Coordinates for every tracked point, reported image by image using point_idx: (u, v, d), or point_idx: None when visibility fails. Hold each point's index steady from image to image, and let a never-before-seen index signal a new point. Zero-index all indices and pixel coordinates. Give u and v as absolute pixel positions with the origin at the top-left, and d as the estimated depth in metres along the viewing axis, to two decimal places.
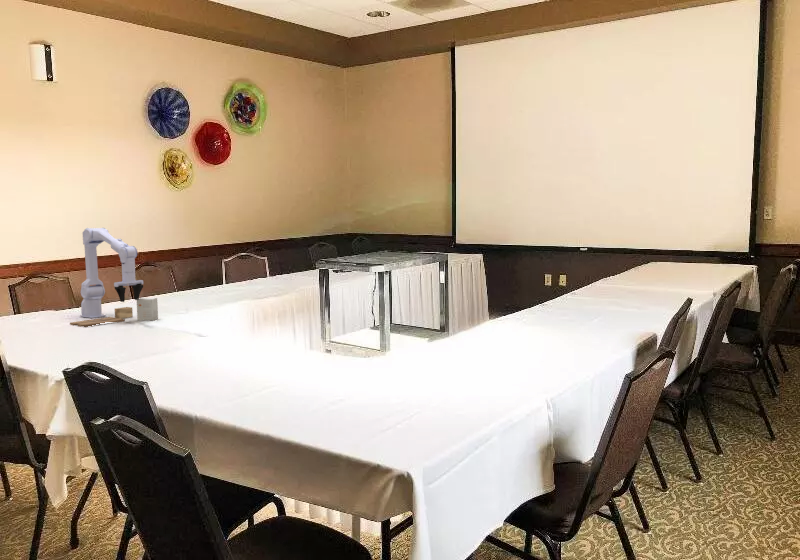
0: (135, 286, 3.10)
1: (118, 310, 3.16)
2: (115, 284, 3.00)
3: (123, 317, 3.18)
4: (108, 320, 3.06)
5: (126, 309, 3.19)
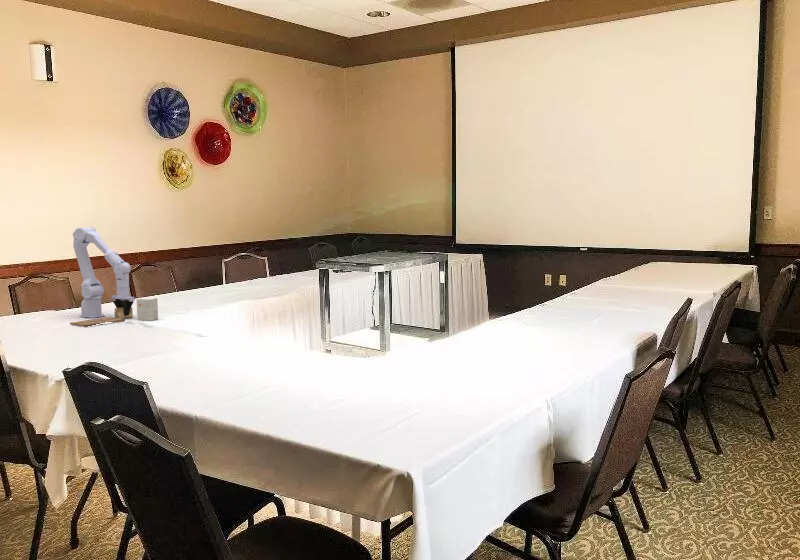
0: None
1: (118, 310, 3.16)
2: None
3: (123, 317, 3.18)
4: (108, 320, 3.06)
5: None
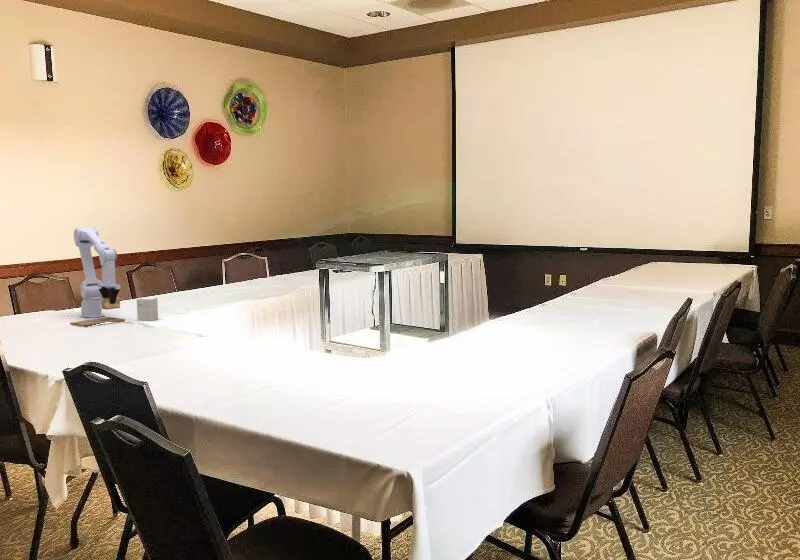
0: None
1: (105, 300, 3.07)
2: None
3: (110, 307, 3.08)
4: (108, 320, 3.06)
5: None
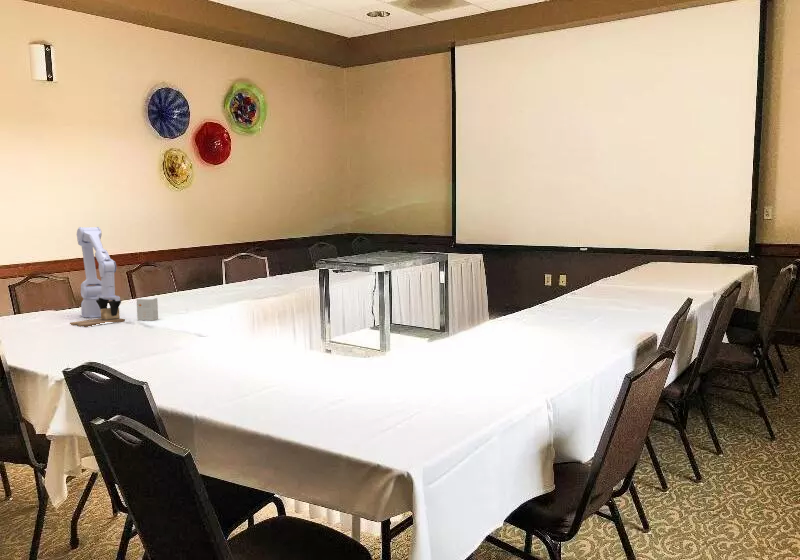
0: None
1: (104, 311, 3.07)
2: None
3: (109, 318, 3.08)
4: (108, 320, 3.06)
5: None
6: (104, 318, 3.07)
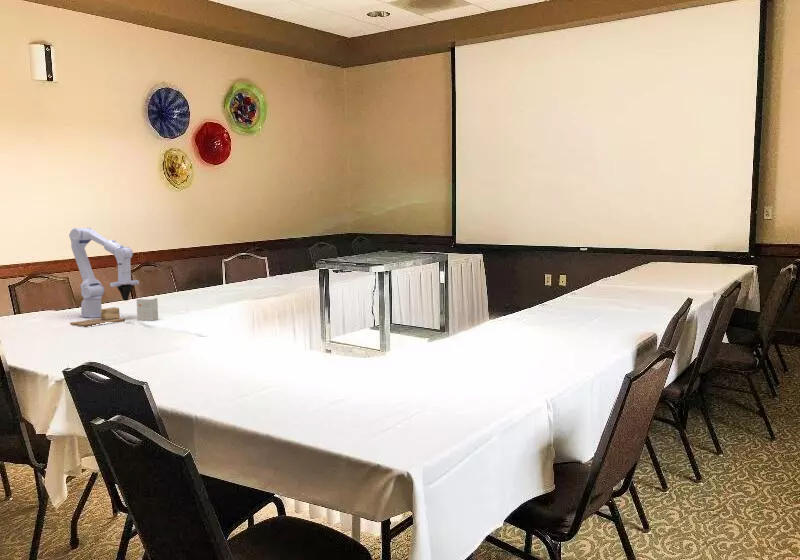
0: None
1: (104, 311, 3.07)
2: (111, 284, 3.10)
3: (109, 318, 3.08)
4: (108, 320, 3.06)
5: (113, 310, 3.09)
6: (104, 318, 3.07)
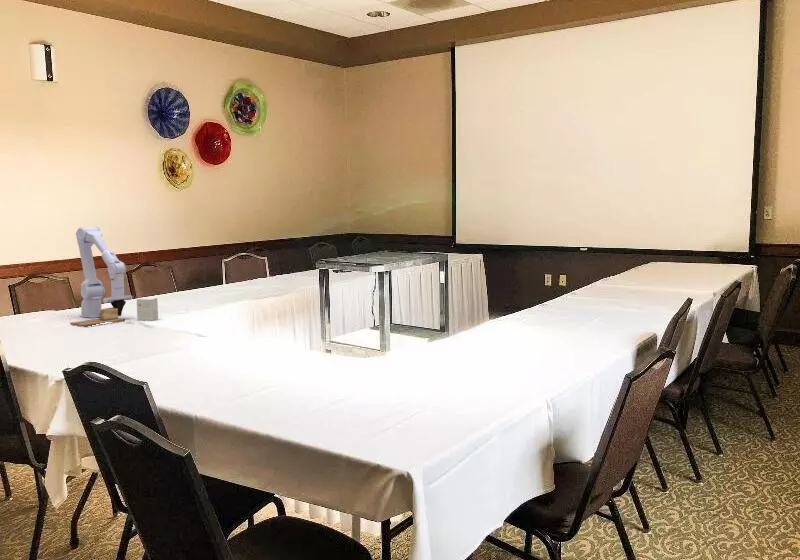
0: None
1: (103, 311, 3.06)
2: (104, 300, 3.07)
3: (108, 318, 3.07)
4: (108, 320, 3.06)
5: (111, 310, 3.09)
6: (102, 318, 3.06)
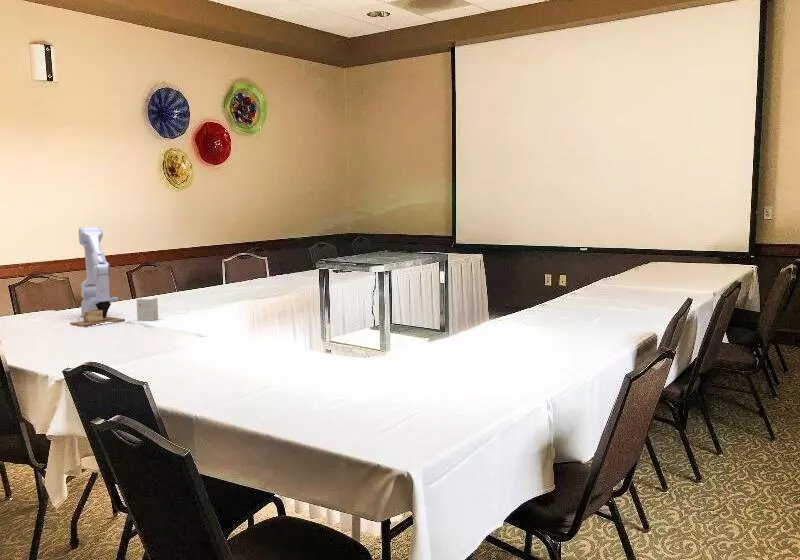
0: None
1: (87, 313, 2.99)
2: (88, 302, 3.00)
3: (92, 320, 3.01)
4: (108, 320, 3.06)
5: (96, 312, 3.02)
6: (87, 321, 3.00)
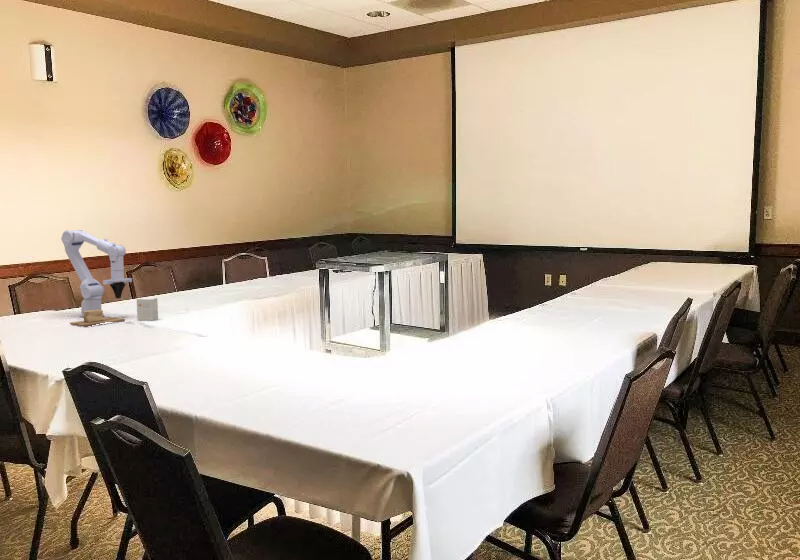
0: None
1: (87, 313, 2.99)
2: (104, 282, 3.11)
3: (92, 320, 3.01)
4: (108, 320, 3.06)
5: (96, 312, 3.02)
6: (87, 321, 3.00)
